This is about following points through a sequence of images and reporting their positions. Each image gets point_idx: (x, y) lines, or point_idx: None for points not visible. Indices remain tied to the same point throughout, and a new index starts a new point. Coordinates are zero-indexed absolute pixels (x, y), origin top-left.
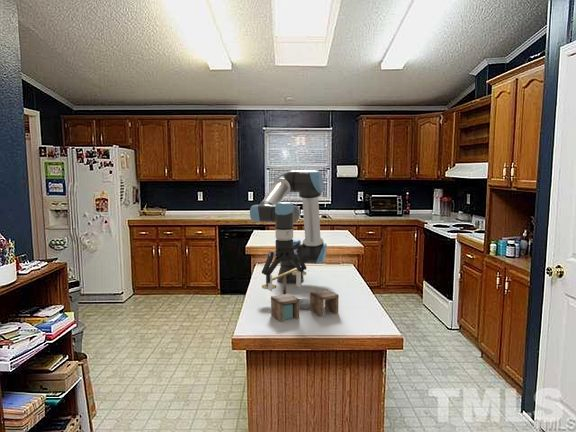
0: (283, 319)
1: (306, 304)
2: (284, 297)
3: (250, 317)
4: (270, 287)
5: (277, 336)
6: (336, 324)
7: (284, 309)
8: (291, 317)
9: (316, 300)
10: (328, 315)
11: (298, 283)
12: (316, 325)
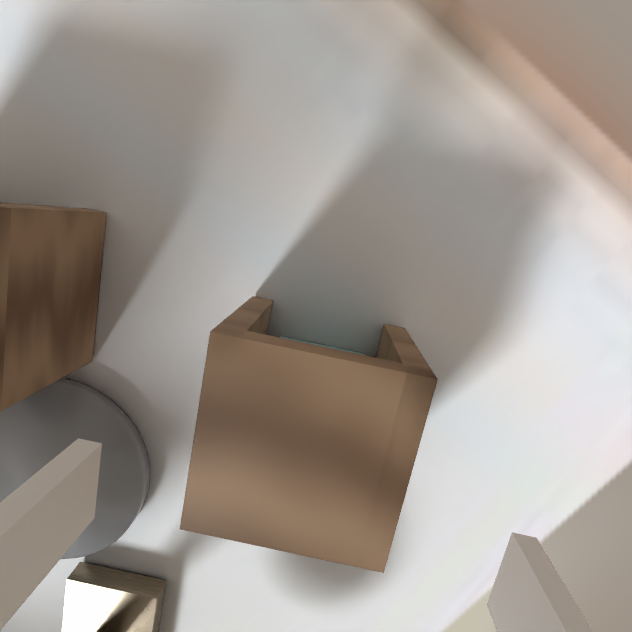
0: (355, 352)
1: (59, 441)
2: (300, 465)
3: (494, 525)
4: (557, 586)
5: (596, 133)
6: (102, 18)
7: None
8: (291, 339)
9: (24, 293)
10: None
11: (72, 492)
12: (238, 108)
